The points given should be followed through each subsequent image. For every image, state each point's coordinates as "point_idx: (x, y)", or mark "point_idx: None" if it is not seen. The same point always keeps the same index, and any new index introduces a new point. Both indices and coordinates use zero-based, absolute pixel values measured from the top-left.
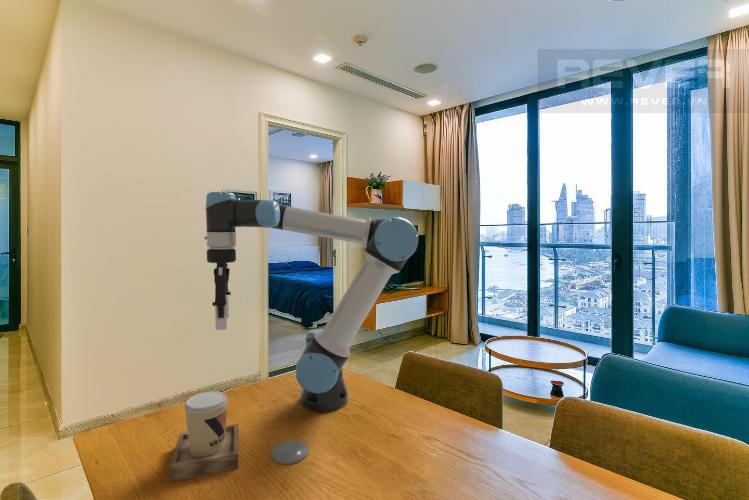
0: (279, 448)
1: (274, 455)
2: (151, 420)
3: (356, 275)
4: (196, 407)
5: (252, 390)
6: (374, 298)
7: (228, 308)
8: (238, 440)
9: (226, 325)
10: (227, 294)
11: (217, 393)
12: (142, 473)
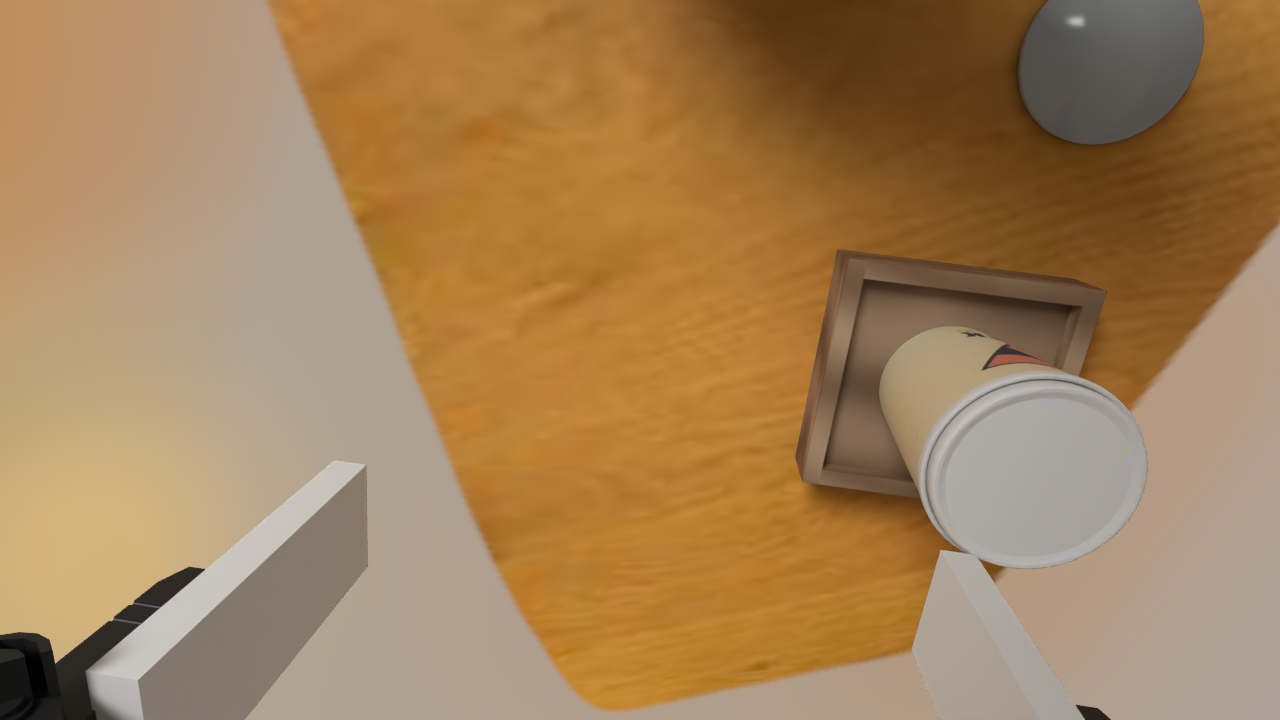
0: (1062, 98)
1: (1102, 130)
2: (538, 544)
3: None
4: (1115, 531)
5: (383, 122)
6: None
7: (266, 522)
8: (904, 259)
9: (992, 585)
10: (59, 706)
11: (984, 423)
12: (904, 557)
